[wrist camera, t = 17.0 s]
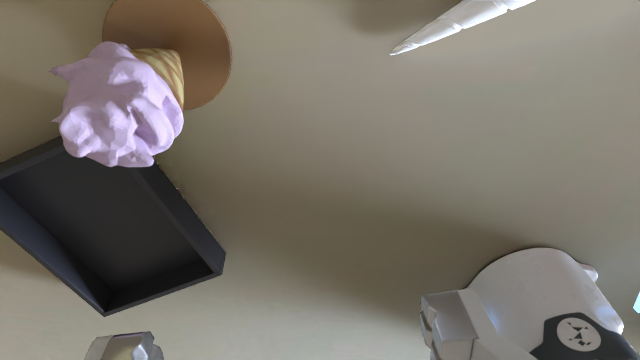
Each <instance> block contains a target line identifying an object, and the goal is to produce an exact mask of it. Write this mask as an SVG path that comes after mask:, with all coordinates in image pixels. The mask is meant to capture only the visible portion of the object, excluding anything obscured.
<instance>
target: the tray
mask: <svg viewBox="0 0 640 360" xmlns="http://www.w3.org/2000/svg"><path fill="white" fill-rule="evenodd" d="M0 229H1V230H2V231H3V232H4V233H5V234H7V235H8V236H9V237H10V238H11V239H12V240H14V241H15V242H16V243H17V244H18V245H20V246H21V247H22V248H23V249H24V250H25V251H27V252H28V253H29V254H30V255H31V256H33V257H34V258H35V259H36V260H37V261H38V262H40V263H41V264H42V265H43V266H44V267H46V268H47V269H48V270H49V271H50V272H51V273H53V274H54V275H55V276H56V277H57V278H59V279H60V280H61V281H62V282H63V283H64V284H66V285H67V286H68V287H69V288H70V289H72V290H73V291H74V292H75V293H76V294H77V295H79V296H80V297H81V298H82V299H83V300H85V301H86V302H87V303H88V304H89V305H91V306H92V307H93V308H94V309H95V310H96V311H98V312H99V313H100V314H101V315H102V316H103V317H106V316H109V315H111V314H114V313H117V312H120V311H123V310H125V309H128V308H131V307H134V306H136V305H139V304H142V303H145V302H148V301H150V300H153V299H156V298H159V297H162V296H164V295H167V294H170V293H173V292H175V291H178V290H181V289H184V288H187V287H189V286H192V285H195V284H198V283H200V282H203V281H206V280H209V279H212V278H214V277H217V276H220V275H222V272H223V266H224V261H225V256H226V253H225V251H224V250H223V249H222V248H221V246H220V245H219V244H218V242H217V241H216V240H215V239H214V237H213V236H212V235H211V233H210V232H209V231H208V229H207V228H206V227H205V226H204V224H203V223H202V222H201V220H200V219H199V218H198V217H197V215H196V214H195V213H194V211H193V210H192V209H191V207H190V206H189V205H188V204H187V202H186V201H185V200H184V198H183V197H182V196H181V195H180V193H179V192H178V191H177V189H176V188H175V187H174V185H173V184H172V183H171V182H170V180H169V179H168V178H167V176H166V175H165V174H164V172H163V171H162V170H161V169H160V167H159V166H158V165H157V163H156V162H155V161H154V162H153V165H151V166H148V167H124V166H119V165H115V166H113V167H109V166H106V165H104V164H101V163H99V162H97V161H95V160H93V159H90V158H88V157H86V156H83V157H74V156H72V155H71V154H69V153H68V152H67V151H66V149H65V147H64V145H63V138H62V136H59V137H57V138H55V139H52V140H50V141H48V142H46V143H44V144H41V145H39V146H37V147H35V148H33V149H30V150H28V151H26V152H24V153H22V154H19V155H17V156H15V157H13V158H11V159H8V160H6V161H4V162H2V163H0Z"/></svg>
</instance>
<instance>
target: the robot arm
mask: <svg viewBox="0 0 640 360" xmlns="http://www.w3.org/2000/svg"><path fill="white" fill-rule="evenodd" d="M597 277H598V274H597V273H596V271H595V270H594V268H593V267H591V266H589V265H585V264H581V263H577V262H576V261H575V260H574V259H572V258H571V257H570V256H569V255H568V254H566V253H565V252H563V251H560V250H557V249H552V248H531V249H526V250H521V251H518V252H514V253H512V254H509V255H507V256H504V257H502V258H500V259H498V260H497V261H495V262H493V263H492V264H490V265H489V266H487V267H486V268H485V269H484V270H482V271H481V272H480V273H479V274H478V275H477V276H476V277H475V279H474V280H473V281H472V283H471V284H470V285H469V286H468V287H467V288H466V289H462V290H455V291H454V290H451V291H444V292H438V293H431V294H424V295H422V296H421V302H420V303H421V306H422V309H423V310H422V311H421V312H420V324H421V331H422V335H423V338H424V341H425V344H426V345H427V346H428V347H429V348H430V349H431V355H430V360H640V355H639V354H638V352H637V351H636V350H635V349H634V348H633V347H632V346H631V345H630V344H629V343H628V342H627V341H626V339H625V338H624V337H623V336H622V335H621V334H622V330H623V327H624V325H623V322H622V320H621V319H620V317H619V316H618V315H617V313H616V312H615V310H614V309H613V308H612V306H611V305H610V303H609V302H608V301H607V299H606V298H605V297H604V295H603V294H602V293H601V291H600V290H599V288H598V287H597V286H596V284H595V281H596V279H597ZM633 308H634V309H635V310H636V311H637V312H638V313H640V293H639V295H638V298H637V300H636V302H635V305H634V307H633ZM153 341H154V336H153V335H152V333H151V332H150V331H148V332H139V333H129V334H120V335H111V336H103V337H97V338H96V339H95V340H94V341H93V342H92V344H91V346H90V348H89V350H88V352H87V354H86V356H85V358H84V360H164V357H163V352H162V350H161V348H160V347H159V346H157V345H155V344H153Z"/></svg>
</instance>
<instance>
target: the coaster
mask: <svg viewBox="0 0 640 360" xmlns="http://www.w3.org/2000/svg"><path fill="white" fill-rule="evenodd" d="M106 41H111V42H114V43H117V44H125V45H127V46H128V47H129V48H130V50H134V49H147V48H159V49H171V50H174V51H176V52H177V53H178V55H179V57H180V61H181V67H182V73H183V81H184V103H183V110H189V109H194V108H197V107H200V106H203V105H204V104H206V103H208V102H210V101H211V100H212V99H214V98H215V97H216V96H217V95H218V94H219V93H220V91H221V90H222V89H223V87H224V85H225V84H226V82H227V79H228V77H229V74H230V70H231V63H232V53H231V46H230V42H229V38H228V35H227V33H226V31H225V28H224V26H223V25H222V23H221V21H220V20H219V18H218V17H217V16H216V14H215V13H214V12H213V11H212V10H211V9H210V7H209V6H208V5H207V4H205V3H204V2H203V1H202V0H116V1H115V2H114V3H113V5H112V6H111V7H110V9H109V11H108V13H107V15H106V18H105V21H104V26H103V42H106Z"/></svg>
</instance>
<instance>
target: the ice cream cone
mask: <svg viewBox="0 0 640 360" xmlns="http://www.w3.org/2000/svg"><path fill="white" fill-rule="evenodd" d="M49 72H51V73H53V74H55V75H57V74H58V75H59V76H60V77H62V78H64V79H65V80H67V81H68V83H69V90H68V93H67V95H66V97H65V99H64V101H63V111H62V113H61V114H60V115H59V116H58V117H57V118H55V119H54V120H52V122H58V123H60V124H59V132H60V134H61V136H62V138H63V145H64V147H65V149H66V151H67V152H68V153H69V154H71V155H72V156H74V157H83V156H86V157H88V158H90V159H93V160H95V161H97V162H99V163H101V164H104V165H106V166H109V167H113V166H115V165H119V166H124V167H148V166H151V165H153V162H154V159H153V158H152V156H153V155H155V154H158V153H161V152H163V151H165V150H166V149H168V148H169V147H170V146H171V144H172V143H173V140H174V138H175V137H177V136H178V135H179V133H180V132H181V131H182V126H183V122H184V121H183V103H184V81H183V73H182V67H181V61H180V57H179V55H178V53H177V52H176V51H174V50H171V49H159V48H147V49H134V50H130V48H129V47H128V46H127V45H125V44H117V43H114V42H111V41H106V42H102V43H100V44H98V45H97V46H96V47H95V48H93V50H92V51H91V52H90V53H89V55H88V56H87V57H86V58H84V59H81V60H78V61H76V62H74V63H71V64H68V65H59V66H57V67H54V68H52V69H51V70H50V71H49Z"/></svg>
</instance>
